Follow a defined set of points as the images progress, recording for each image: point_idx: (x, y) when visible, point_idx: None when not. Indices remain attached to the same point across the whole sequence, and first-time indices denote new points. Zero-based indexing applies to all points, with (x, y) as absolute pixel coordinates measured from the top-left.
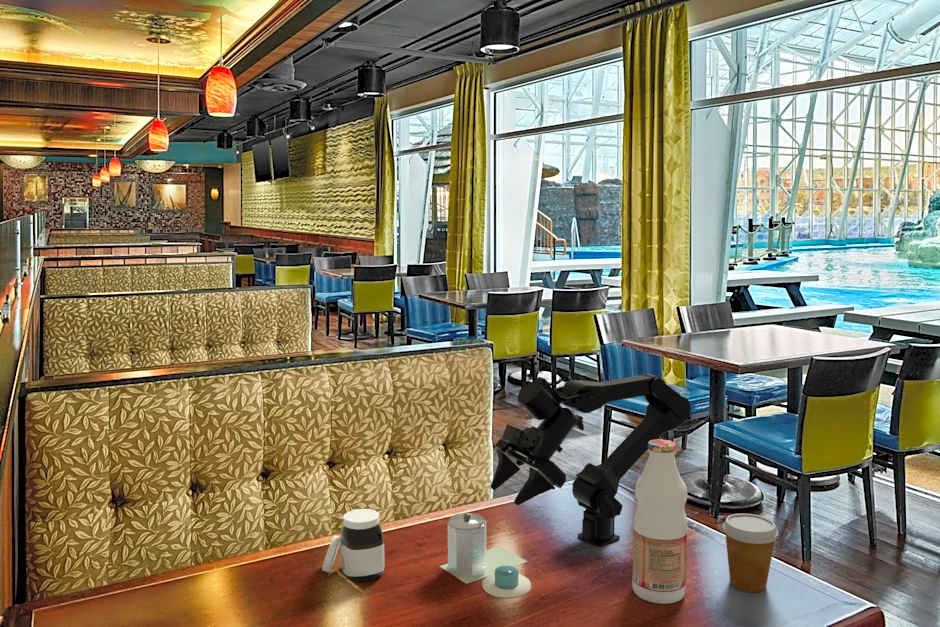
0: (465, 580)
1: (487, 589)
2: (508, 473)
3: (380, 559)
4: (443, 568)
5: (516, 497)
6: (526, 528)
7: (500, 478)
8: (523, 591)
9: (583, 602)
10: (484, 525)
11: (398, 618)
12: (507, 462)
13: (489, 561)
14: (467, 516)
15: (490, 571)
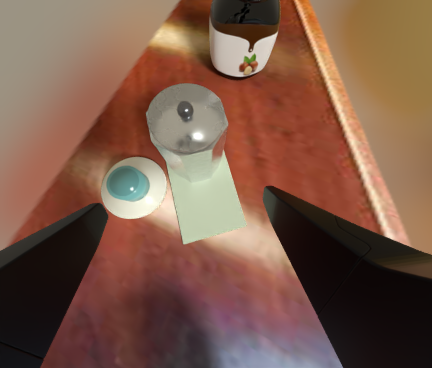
0: None
1: (132, 159)
2: (316, 285)
3: (211, 48)
4: None
5: (83, 211)
6: (299, 301)
7: (289, 228)
8: (104, 197)
9: None
10: (156, 143)
11: (133, 69)
12: (394, 322)
13: (205, 193)
14: (178, 106)
15: (178, 182)
